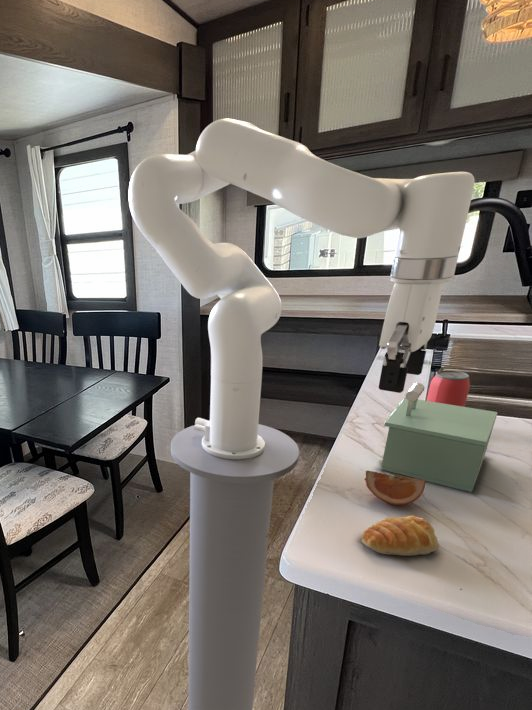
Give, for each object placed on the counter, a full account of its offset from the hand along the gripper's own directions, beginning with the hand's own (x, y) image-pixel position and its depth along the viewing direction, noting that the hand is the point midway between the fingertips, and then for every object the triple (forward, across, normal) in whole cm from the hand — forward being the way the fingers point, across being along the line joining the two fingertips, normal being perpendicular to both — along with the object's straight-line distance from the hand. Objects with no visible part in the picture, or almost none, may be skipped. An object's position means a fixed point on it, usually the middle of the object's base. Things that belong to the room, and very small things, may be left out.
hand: (400, 381), depth 74 cm
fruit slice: (+20, +2, +2) cm, 21 cm away
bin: (+20, -15, +5) cm, 26 cm away
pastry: (+20, +14, +7) cm, 26 cm away
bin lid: (+11, -15, +4) cm, 19 cm away
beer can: (+20, -34, +2) cm, 40 cm away
